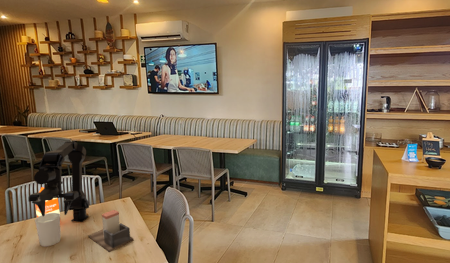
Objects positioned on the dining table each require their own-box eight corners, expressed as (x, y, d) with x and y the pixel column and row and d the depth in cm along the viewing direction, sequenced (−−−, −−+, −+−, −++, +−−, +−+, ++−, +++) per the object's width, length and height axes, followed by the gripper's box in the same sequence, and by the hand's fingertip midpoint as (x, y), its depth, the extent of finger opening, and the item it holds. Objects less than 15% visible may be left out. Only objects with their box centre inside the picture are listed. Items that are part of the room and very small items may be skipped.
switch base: (88, 237, 134) (87, 223, 133) (112, 227, 143) (111, 214, 142) (109, 252, 122) (108, 237, 121) (133, 240, 131) (132, 226, 130)
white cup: (34, 249, 125) (31, 224, 123) (42, 237, 134) (39, 214, 132) (59, 245, 127) (56, 221, 125) (65, 234, 137) (62, 211, 135)
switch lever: (103, 238, 131) (101, 214, 129) (115, 233, 135) (114, 209, 133) (108, 241, 128) (106, 216, 126) (120, 235, 133) (118, 212, 131)
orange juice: (44, 230, 140) (40, 192, 137) (37, 225, 146) (33, 188, 142) (61, 224, 146) (57, 188, 143) (53, 219, 152) (49, 184, 148)
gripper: (20, 184, 115) (20, 222, 115) (68, 182, 118) (68, 219, 118) (35, 180, 127) (36, 214, 127) (78, 178, 129) (79, 212, 129)
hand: (54, 215), depth 124 cm, fingers open, 9 cm apart
